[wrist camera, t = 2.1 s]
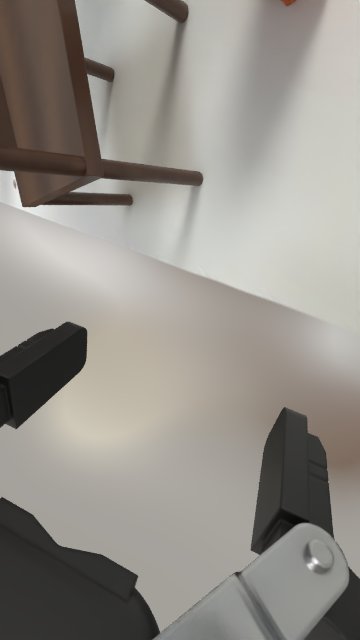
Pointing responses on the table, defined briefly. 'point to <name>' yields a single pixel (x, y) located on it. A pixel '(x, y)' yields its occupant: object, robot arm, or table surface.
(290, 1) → the orange open padlock
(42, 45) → the chair
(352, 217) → the table surface
